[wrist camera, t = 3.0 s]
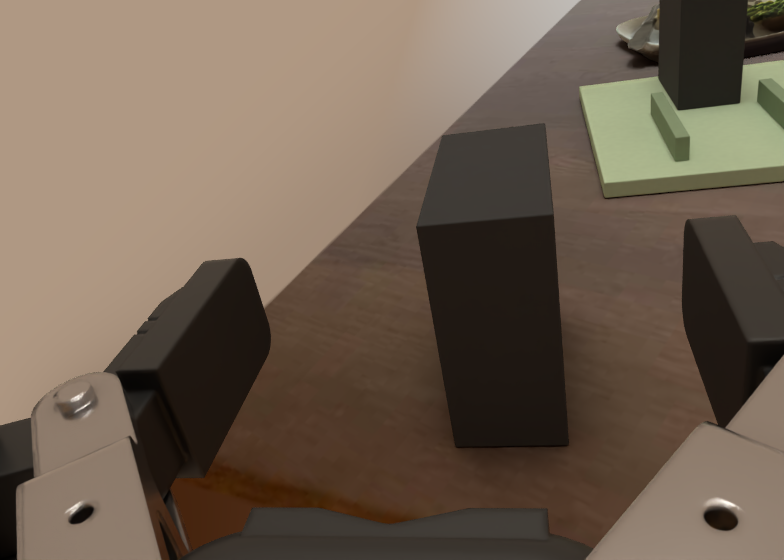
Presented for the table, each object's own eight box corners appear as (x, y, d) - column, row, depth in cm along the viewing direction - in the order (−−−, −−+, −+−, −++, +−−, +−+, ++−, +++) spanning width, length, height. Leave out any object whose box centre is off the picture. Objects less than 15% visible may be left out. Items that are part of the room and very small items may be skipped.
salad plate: (584, 35, 75) (582, -9, 73) (750, 4, 74) (753, -42, 72) (641, 77, 59) (641, 21, 56) (857, 38, 57) (866, -21, 55)
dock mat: (604, 198, 40) (599, 20, 35) (579, 98, 57) (574, -31, 52) (917, 169, 36) (962, -34, 31) (791, 71, 53) (807, -71, 48)
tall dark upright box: (455, 447, 25) (415, 225, 20) (469, 321, 31) (441, 135, 27) (569, 445, 24) (553, 213, 19) (558, 317, 30) (545, 122, 26)
